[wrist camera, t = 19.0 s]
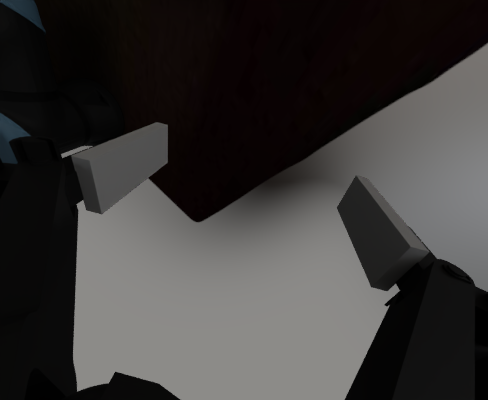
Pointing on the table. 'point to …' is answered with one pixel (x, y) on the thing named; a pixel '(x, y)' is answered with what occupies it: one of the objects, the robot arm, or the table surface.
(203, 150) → the table surface
